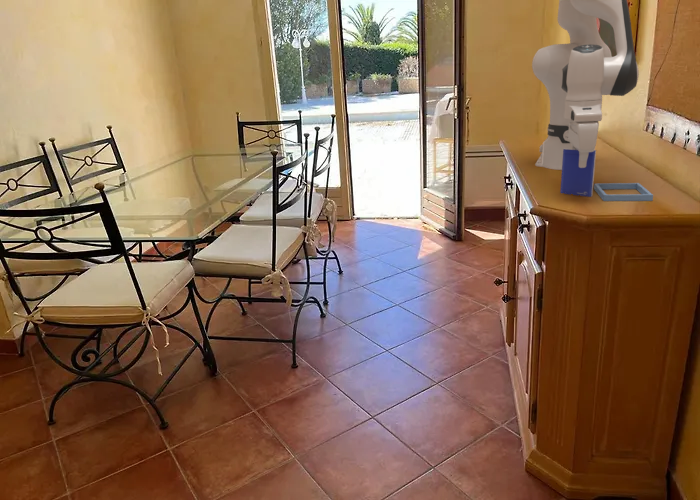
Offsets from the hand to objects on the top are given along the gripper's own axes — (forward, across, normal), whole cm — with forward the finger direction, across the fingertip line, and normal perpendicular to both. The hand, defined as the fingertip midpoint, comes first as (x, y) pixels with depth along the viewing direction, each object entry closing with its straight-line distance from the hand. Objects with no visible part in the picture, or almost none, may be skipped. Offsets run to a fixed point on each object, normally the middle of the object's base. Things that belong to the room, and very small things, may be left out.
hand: (578, 163), depth 146 cm
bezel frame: (+9, 0, +11) cm, 14 cm away
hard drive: (+9, 0, 0) cm, 9 cm away
